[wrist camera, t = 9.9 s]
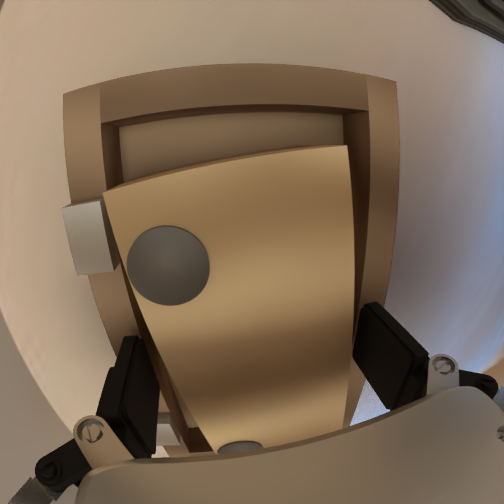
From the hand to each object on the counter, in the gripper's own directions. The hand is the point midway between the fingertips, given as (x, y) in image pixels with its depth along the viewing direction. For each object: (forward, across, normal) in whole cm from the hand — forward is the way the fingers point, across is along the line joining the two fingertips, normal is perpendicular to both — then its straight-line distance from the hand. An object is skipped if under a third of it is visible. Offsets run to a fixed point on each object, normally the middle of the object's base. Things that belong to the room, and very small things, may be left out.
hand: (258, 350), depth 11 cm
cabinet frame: (+3, 0, 0) cm, 3 cm away
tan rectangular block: (+3, 0, 0) cm, 3 cm away
